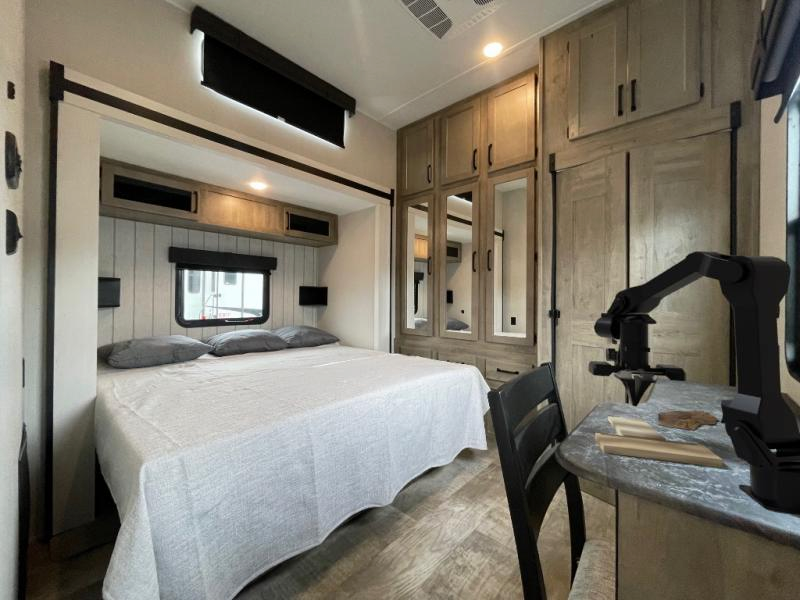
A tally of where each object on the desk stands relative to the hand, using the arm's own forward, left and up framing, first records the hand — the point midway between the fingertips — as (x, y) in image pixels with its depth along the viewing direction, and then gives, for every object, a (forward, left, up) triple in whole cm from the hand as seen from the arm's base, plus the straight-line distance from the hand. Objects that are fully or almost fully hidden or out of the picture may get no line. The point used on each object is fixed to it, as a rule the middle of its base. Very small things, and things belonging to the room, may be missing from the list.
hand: (634, 405), depth 80 cm
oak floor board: (-11, 0, -7) cm, 13 cm away
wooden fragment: (+17, -17, -7) cm, 25 cm away
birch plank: (0, 0, -7) cm, 7 cm away
